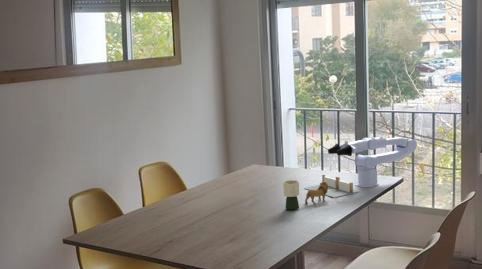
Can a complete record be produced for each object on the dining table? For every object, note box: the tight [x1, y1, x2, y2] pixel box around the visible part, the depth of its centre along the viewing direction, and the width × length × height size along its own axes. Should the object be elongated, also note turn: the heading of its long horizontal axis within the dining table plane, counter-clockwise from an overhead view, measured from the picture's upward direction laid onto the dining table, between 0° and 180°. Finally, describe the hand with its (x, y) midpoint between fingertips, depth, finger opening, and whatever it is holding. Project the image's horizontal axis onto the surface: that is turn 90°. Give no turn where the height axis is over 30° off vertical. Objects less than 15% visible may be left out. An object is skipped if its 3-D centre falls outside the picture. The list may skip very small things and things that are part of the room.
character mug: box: [283, 179, 300, 211], centre depth 279 cm, size 11×7×13 cm, turn 20°
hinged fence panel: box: [321, 174, 336, 187], centre depth 315 cm, size 11×2×5 cm, turn 31°
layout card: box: [303, 184, 360, 199], centre depth 308 cm, size 16×24×1 cm, turn 31°
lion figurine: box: [304, 181, 328, 205], centre depth 288 cm, size 15×5×9 cm, turn 129°
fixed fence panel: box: [335, 176, 354, 193], centre depth 305 cm, size 12×2×6 cm, turn 31°
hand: (332, 152), depth 302 cm, fingers open, 7 cm apart
